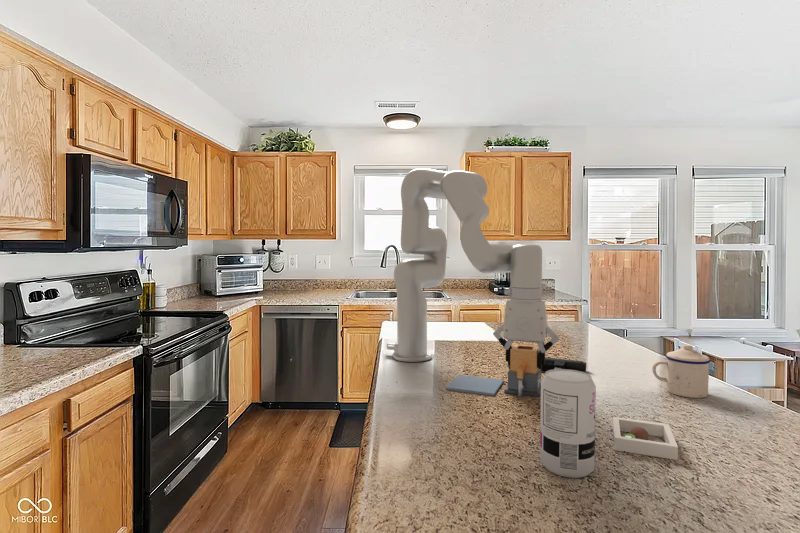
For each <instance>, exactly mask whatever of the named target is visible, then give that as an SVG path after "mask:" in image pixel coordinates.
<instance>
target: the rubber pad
mask: <svg viewBox="0 0 800 533" xmlns="http://www.w3.org/2000/svg"><path fill="white" fill-rule="evenodd" d="M504 382H505V381H504V379H500V378H489V377H481V376H471V375H463V374H459V375H457V377H455V378H454V379H453V380H452V381H450V383H449V384H448V385H447V386H446V387H445V390H446V391H453V392H460V393H469V394H474V395H475V394H476V395H482V396H484V395H485V396H491V397H495V396H496V394H497V393H498V391H499V390H500V388H501V387H502V385H503V384H504Z"/></svg>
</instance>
